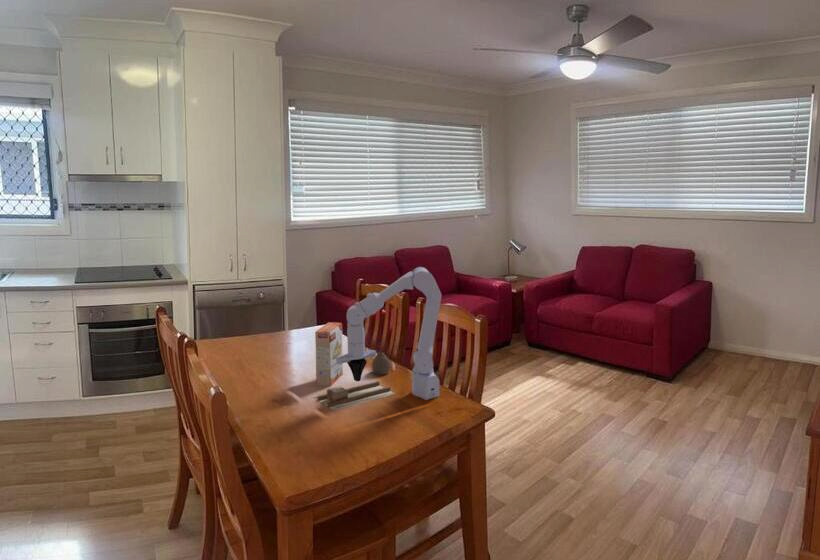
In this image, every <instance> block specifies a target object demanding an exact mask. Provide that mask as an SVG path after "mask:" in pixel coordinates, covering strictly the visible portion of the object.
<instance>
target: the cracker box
mask: <svg viewBox="0 0 820 560" xmlns="http://www.w3.org/2000/svg"><path fill="white" fill-rule="evenodd" d="M314 334H315V335H314V336H315V339H314V341H315V377H316V378H315V382H316V385H315V386H318V387H319V386H321V387H332V386H333V385H334V383H336V382H337V380H339V378H341V377H342V376H343V374H344V373H343V367H344V366H343V364H344V363H342V364H340V365H339V364H337V363H336V358H337V357H341V356H343V323H342V322H330V321H329V322H327V323H326V324H324V325H322V326H321V327H320V328H318V329H316V330H315V332H314Z"/></svg>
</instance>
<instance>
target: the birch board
mask: <svg viewBox="0 0 820 560" xmlns="http://www.w3.org/2000/svg"><path fill="white" fill-rule="evenodd" d="M345 389H346V390H348V398H344V399H341V400H337V401H333V402H331V401H329V400H328V399H327V393H324V394H320V395H317V396H314V397H313V399H315V400H317V401H319V402H320V403H321V404H323V405H324V406H325V407H327V408H329V409H330V410H332V411H338V410H342V409H345V408H349V407H353V406H356V405H360V404H363V403H366V402H370V401H374V400H377V399H378V400H379V399H382V398H385V397H389V396H394V395H396V393H395V392H394V391H391V387H390V386H387V387H383V386H382V385H380V381H372V382H369V383H363V384H360V385H356V386H352V387H348V388H345Z"/></svg>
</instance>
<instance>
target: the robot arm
mask: <svg viewBox="0 0 820 560" xmlns="http://www.w3.org/2000/svg"><path fill="white" fill-rule="evenodd" d="M414 287H415V288H416V289H417V290H418V291H420V292H421V293H423V295H424V296H425V298H426V301H425V307H424V311H423V317H422V323H421V329H420V332H419V333H420V335H419V339H418V340H419V341H418V342H417V345H416V349H415V351H414V352H413V354H412V361H413V363H414V366H413V368H412V370H411V371H412V372H411V373H412V374H411V375H412V377H411V381H412V382H411V383H412V384H411V386H412V388H411V389H412V392H411V393H412V395H413V396H415V397H419V398H421V399H423V400H425V401H427V400H430V399H434V398H438V397H440V383H441V382H440V378H439V376H437V375H436V374H435V371H434V362H433V352H434V349H433V347H434V340H435V335H436V330H437V323H438V319H439V312H440V307H441V303H442V302H441V301H442V296H443V295H442V292H441V290H440V288H439V285H438V284H437V281H436V279H435V278H434V276H433V274H432V273H431V272H430V271H429V270H428V269H427V268H426V267H422V266H418V267H416V268H414V269H412V270H411V271H409V272H407V273H405V274H404V275H402V276H401V277H399V278H398V279H397V280H396V281H394V282H392V283H391V284H390V285H388V286H387V287H386V288H384V289H383V290H382V291H380V292H372V293H371V292H370V293H367V295H366V297H365V298H363V299H362V300H361V301H359V302H358V301H356V302H355V304H354V305H351V306H350V307H349V308H348V309H347V311H346V321H347V323H346V325H347V329H346V330H347V331H346V332H347V333H346V335H347V338H346V339H347V353H346V354H344V355H343V354H342V356H341V357H337V358H336V363H337V364H339V365H340V364H342V363H343V364H344V363H345V364H347V365H348V367H349V368H350V371H351V374H352V377H353V380H354V381H355V382H361V379H362V374H363V371H364V369H365V367H366V365H367V362H368V361H367V358H372V357H373V358H375V357H376V355H377V350H375V349H370V350H366V347H365V345H366V343H365V342H366V341H365V328H364V327H365V326H364V321H365V318H369V317H370V316H372V315H374V314H375V313H376V312H378V311H380V310H381V309H382V308H383V307H384V304H385V302H386V301H387V300H389V299H391V298H393V297H394V296H396V295H397V294H398V293H401V292H403V291H404V290H414Z"/></svg>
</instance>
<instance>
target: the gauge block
mask: <svg viewBox="0 0 820 560" xmlns="http://www.w3.org/2000/svg"><path fill="white" fill-rule="evenodd" d="M346 389H347V388H344V387H343V386H341V385H339V386H335V387H332V388H328V389H326V394H327V399H328V400H329V401H331V402H333V401H337V400H341V399H344V398H348V390H346Z"/></svg>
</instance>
